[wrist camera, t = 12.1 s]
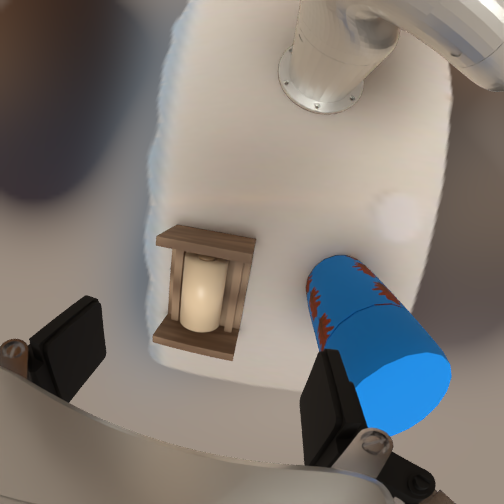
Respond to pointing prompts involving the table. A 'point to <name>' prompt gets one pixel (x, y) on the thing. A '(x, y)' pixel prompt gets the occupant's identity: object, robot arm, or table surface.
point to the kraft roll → (202, 292)
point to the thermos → (376, 344)
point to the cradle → (238, 271)
